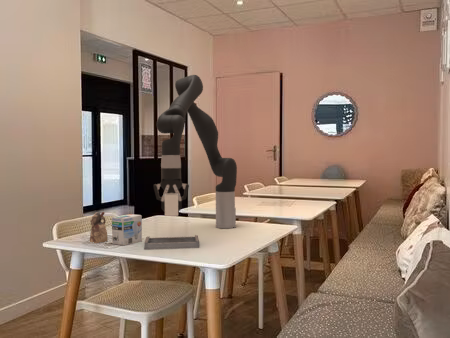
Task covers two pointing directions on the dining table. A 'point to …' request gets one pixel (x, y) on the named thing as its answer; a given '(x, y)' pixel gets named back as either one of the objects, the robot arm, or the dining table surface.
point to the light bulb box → (126, 229)
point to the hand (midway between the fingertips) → (171, 210)
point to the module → (171, 204)
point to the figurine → (98, 228)
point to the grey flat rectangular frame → (171, 242)
